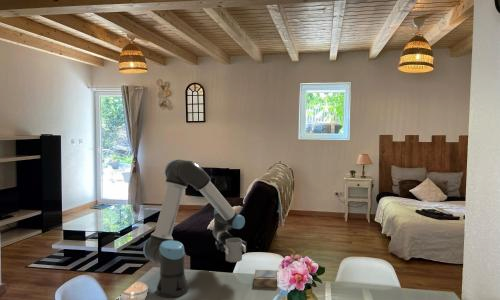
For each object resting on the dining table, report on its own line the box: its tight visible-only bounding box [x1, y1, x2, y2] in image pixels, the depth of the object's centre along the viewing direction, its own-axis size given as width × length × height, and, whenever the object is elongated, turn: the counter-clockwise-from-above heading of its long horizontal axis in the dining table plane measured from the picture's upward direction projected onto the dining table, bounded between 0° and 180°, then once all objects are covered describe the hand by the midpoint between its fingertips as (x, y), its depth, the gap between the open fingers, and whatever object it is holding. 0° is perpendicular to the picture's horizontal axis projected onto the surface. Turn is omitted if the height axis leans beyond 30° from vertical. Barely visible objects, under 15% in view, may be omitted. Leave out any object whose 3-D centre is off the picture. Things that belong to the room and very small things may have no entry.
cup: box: [225, 237, 243, 263], centre depth 190 cm, size 8×8×10 cm
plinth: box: [253, 269, 279, 288], centre depth 191 cm, size 12×12×4 cm
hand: (236, 250), depth 186 cm, fingers closed on cup, 8 cm apart
